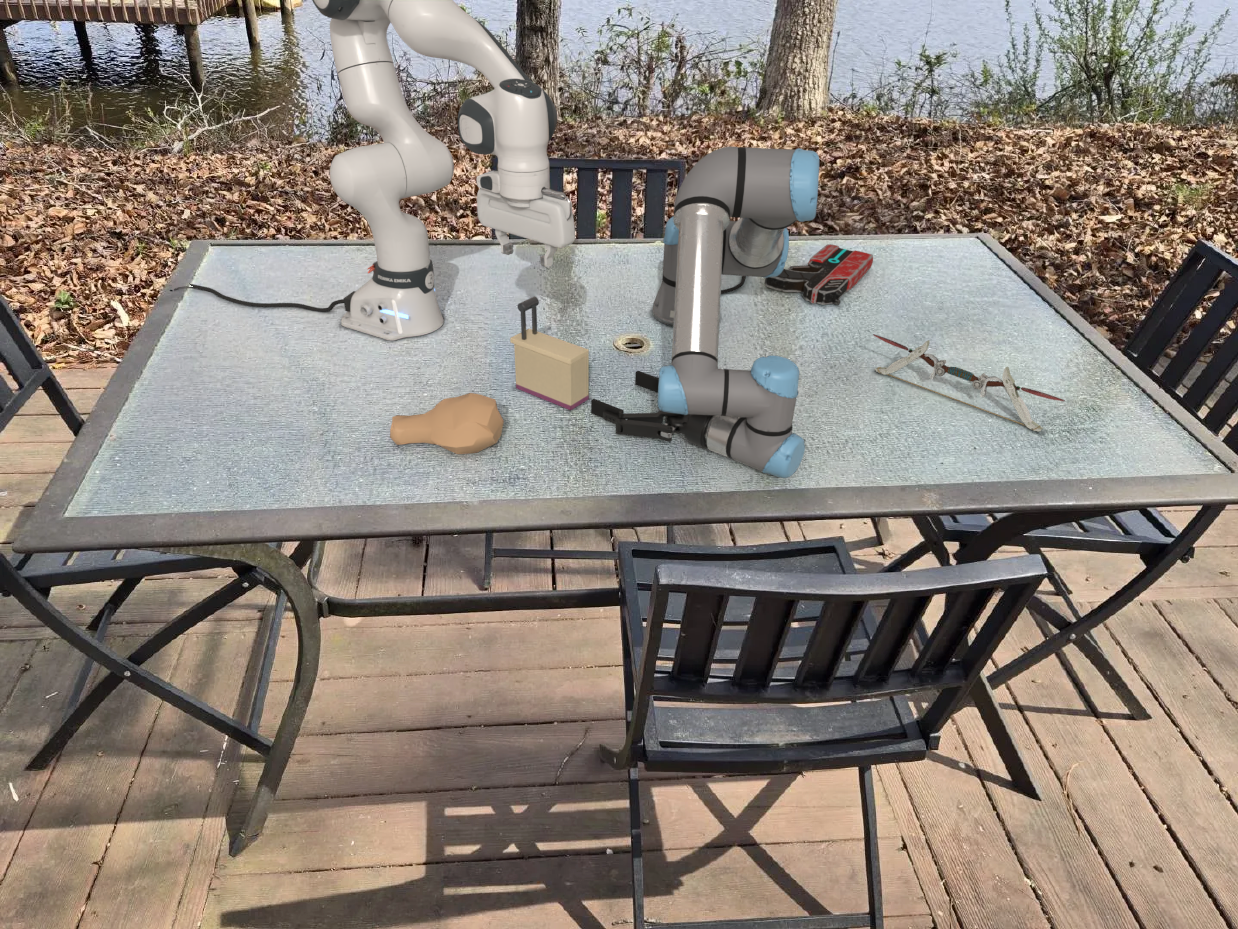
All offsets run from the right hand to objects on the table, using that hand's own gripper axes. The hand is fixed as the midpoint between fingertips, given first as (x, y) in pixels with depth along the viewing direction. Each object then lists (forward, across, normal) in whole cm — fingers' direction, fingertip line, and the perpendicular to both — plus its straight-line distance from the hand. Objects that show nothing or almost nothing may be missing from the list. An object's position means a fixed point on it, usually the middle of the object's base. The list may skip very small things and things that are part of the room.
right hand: (614, 391), depth 160 cm
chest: (+15, 0, -6) cm, 16 cm away
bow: (-48, +48, -6) cm, 68 cm away
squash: (+18, -25, -6) cm, 31 cm away
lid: (+16, 0, +4) cm, 16 cm away
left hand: (+21, 0, +20) cm, 29 cm away
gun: (0, +88, -6) cm, 88 cm away
